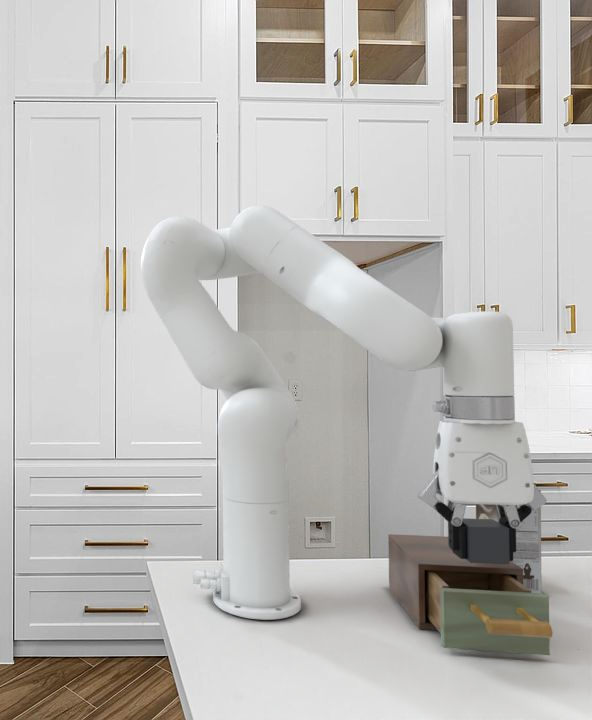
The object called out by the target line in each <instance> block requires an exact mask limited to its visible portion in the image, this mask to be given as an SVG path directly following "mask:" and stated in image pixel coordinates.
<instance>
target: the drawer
mask: <svg viewBox="0 0 592 720" xmlns="http://www.w3.org/2000/svg"><path fill="white" fill-rule="evenodd" d="M425 615H426V616H427V618H428V619H429V620H430V621H431V622H432V624H433V625H434V626H435V627H436V628H437V630H436V631H438V632H439V634H440V644H441V645H442V646H443V648H444V649H445V648H446V649H453V650H470V651H481V652H482V651H485V652H497V653H498V652H499V653H513V654H526V655H537V656H538V655H540V656H550V655H551V645H550V644H551V641H550V639H552V637H553V636H554V635H553V634H554V633H553V628H552V625H551V623H550V597H549V596H548V595H547V594H545V593H531V590H530V589H528V588H527V587H525V586H524V585H523V584H521V583H520V582H518V581H517V580H516V579H514V578H513V577H511V576H510V575H509V574H494V573H474V572H454V571H434V570H425Z"/></svg>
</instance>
